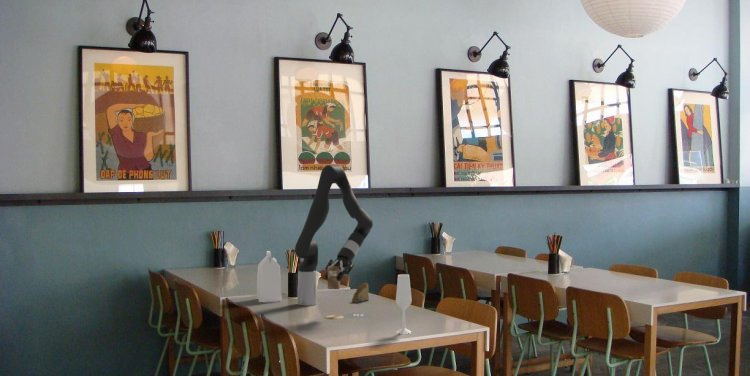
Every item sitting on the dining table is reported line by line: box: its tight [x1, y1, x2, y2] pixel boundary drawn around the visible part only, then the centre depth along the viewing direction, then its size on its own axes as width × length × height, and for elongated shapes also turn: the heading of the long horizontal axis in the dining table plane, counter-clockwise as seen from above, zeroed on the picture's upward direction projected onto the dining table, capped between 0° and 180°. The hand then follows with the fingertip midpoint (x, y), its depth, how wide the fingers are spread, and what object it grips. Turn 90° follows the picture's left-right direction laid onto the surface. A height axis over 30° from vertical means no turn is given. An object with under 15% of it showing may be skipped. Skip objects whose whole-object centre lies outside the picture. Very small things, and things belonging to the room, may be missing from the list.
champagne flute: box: [395, 273, 413, 335], centre depth 305 cm, size 7×7×24 cm
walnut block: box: [327, 266, 341, 290], centre depth 337 cm, size 5×5×10 cm
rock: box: [351, 282, 370, 303], centre depth 384 cm, size 11×9×10 cm
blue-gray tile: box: [344, 312, 373, 319], centre depth 342 cm, size 12×12×1 cm
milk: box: [256, 250, 283, 303], centre depth 388 cm, size 12×12×26 cm
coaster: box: [323, 314, 344, 320], centre depth 337 cm, size 9×9×1 cm
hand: (331, 279), depth 335 cm, fingers closed on walnut block, 7 cm apart
